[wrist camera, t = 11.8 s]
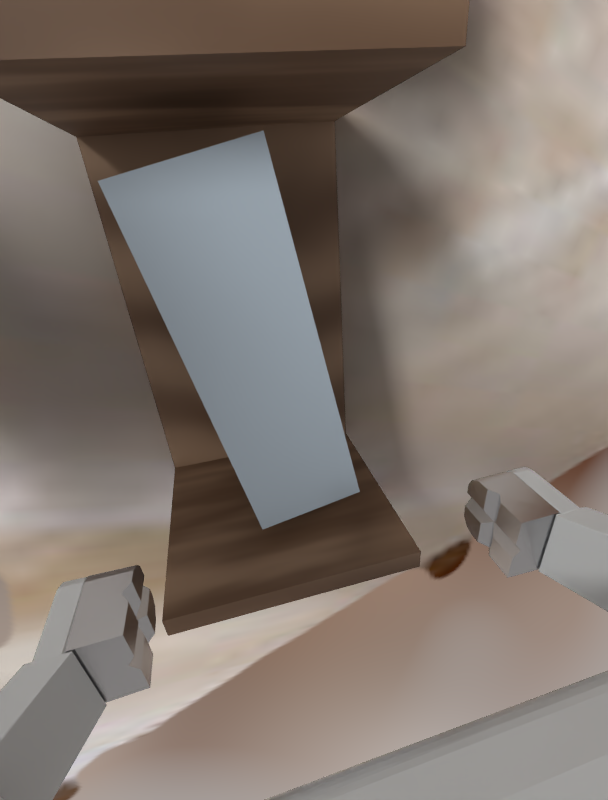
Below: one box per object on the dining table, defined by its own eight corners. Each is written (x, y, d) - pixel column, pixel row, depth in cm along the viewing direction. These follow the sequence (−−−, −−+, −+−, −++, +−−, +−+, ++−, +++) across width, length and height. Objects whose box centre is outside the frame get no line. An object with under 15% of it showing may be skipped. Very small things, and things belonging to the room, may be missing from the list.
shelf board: (117, 184, 17) (97, 180, 13) (250, 144, 17) (263, 130, 14) (253, 485, 26) (262, 529, 22) (338, 453, 26) (359, 491, 23)
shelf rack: (74, 112, 21) (-100, -8, 9) (327, 99, 23) (470, -10, 11) (179, 470, 32) (168, 635, 20) (341, 437, 34) (419, 566, 22)
